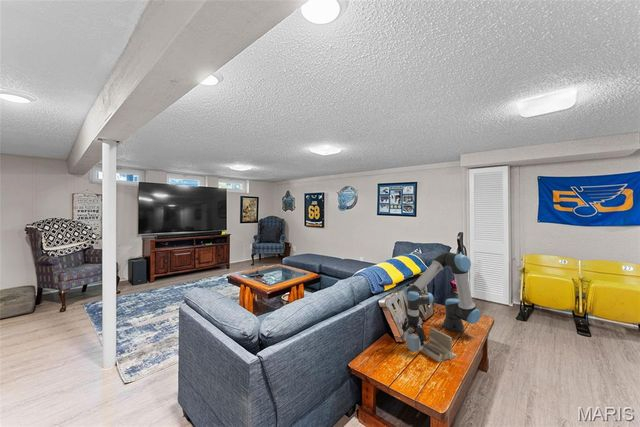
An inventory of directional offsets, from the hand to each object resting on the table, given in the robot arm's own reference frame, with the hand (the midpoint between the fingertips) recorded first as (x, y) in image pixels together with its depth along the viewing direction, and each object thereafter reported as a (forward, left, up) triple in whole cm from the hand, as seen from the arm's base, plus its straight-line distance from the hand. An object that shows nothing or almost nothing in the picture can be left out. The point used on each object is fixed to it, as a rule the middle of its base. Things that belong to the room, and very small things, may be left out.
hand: (413, 344), depth 178 cm
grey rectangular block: (0, 0, -3) cm, 3 cm away
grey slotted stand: (-10, +12, -3) cm, 16 cm away
